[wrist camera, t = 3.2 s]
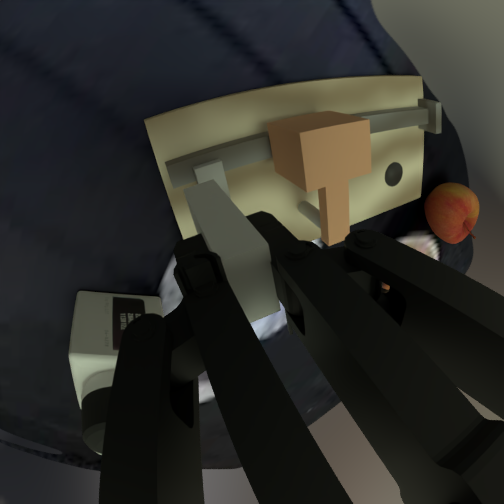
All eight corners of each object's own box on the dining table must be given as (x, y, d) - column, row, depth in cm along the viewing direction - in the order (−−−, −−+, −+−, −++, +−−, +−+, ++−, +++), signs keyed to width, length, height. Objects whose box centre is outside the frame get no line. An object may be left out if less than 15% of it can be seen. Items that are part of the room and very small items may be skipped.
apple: (446, 166, 31) (495, 189, 25) (444, 212, 35) (486, 238, 29) (413, 184, 30) (466, 213, 24) (412, 233, 34) (457, 265, 28)
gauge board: (144, 119, 18) (144, 124, 15) (413, 75, 23) (440, 79, 20) (197, 276, 26) (207, 301, 23) (413, 193, 31) (435, 205, 28)
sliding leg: (259, 120, 19) (299, 133, 15) (320, 108, 20) (369, 119, 16) (277, 222, 24) (313, 258, 19) (329, 204, 25) (370, 233, 20)
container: (77, 288, 22) (64, 423, 12) (161, 295, 25) (192, 424, 15) (81, 348, 25) (84, 466, 15) (152, 352, 29) (178, 465, 18)
